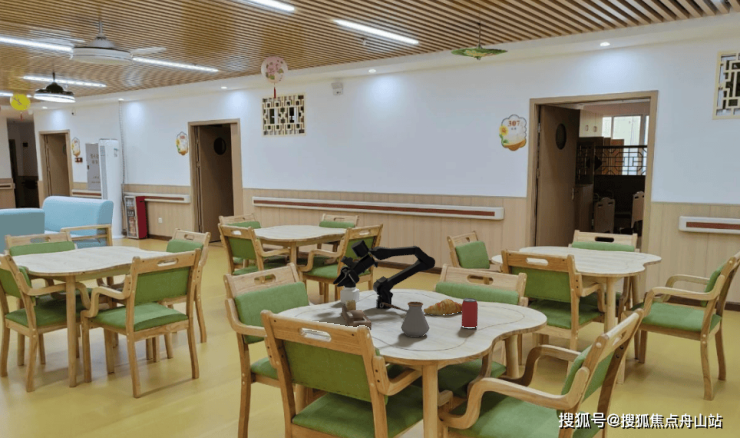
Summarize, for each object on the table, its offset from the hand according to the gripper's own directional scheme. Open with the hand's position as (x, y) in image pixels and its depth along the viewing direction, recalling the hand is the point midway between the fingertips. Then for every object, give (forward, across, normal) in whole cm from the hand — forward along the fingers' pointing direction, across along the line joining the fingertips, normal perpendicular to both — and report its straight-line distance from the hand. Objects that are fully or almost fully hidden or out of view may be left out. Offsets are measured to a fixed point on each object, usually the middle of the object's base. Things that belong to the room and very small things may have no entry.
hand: (335, 285), depth 257 cm
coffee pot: (-8, +39, +25) cm, 47 cm away
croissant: (-34, +11, +39) cm, 53 cm away
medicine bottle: (-2, -17, +16) cm, 23 cm away
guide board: (+3, +16, +16) cm, 23 cm away
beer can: (-34, +35, +41) cm, 63 cm away
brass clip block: (+1, +1, +14) cm, 14 cm away
